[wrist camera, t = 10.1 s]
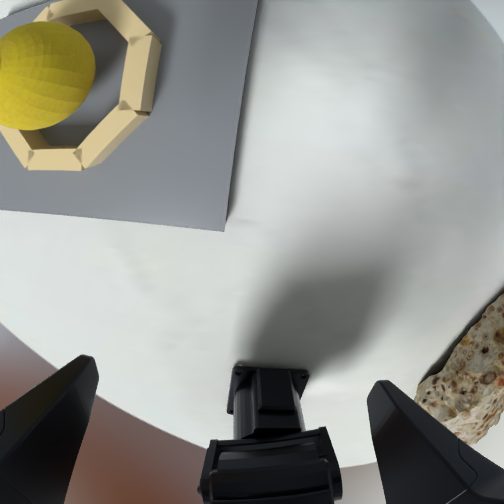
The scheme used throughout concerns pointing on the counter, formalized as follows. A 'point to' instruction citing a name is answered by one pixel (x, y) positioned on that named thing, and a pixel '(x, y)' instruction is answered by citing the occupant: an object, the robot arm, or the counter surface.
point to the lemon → (43, 74)
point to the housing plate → (167, 140)
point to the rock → (470, 380)
